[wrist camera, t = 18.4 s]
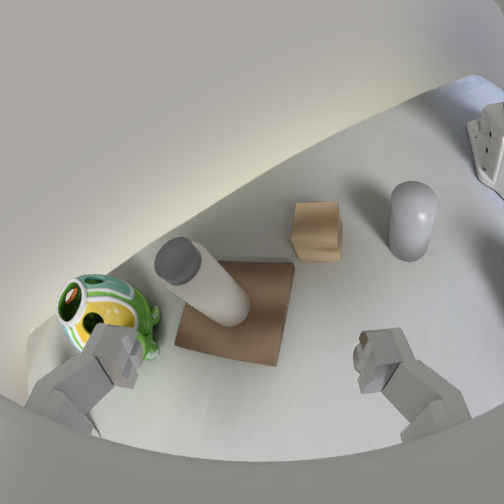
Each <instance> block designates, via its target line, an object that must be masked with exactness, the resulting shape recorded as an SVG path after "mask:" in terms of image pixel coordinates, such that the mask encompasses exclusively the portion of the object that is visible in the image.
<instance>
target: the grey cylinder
mask: <svg viewBox="0 0 504 504" xmlns="http://www.w3.org/2000/svg"><path fill="white" fill-rule="evenodd" d="M438 206H439V202H438V198H437V195H436V194H435V192H434V191H433V190H432V189H431V188H430V187H429V186H427V185H425V184H423V183H420V182H416V181H407V182H403V183H401V184H399V185H398V186H397V187H396V188H395V189H394V190H393V192H392V198H391V217H390V231H389V248H390V250H391V252H392V253H393V255H394V256H396V257H397V258H398V259H400V260H403V261H407V262H412V261H416V260H418V259H420V258H421V257H422V256H423V255H424V254H425V252H426V249H427V246H428V243H429V239H430V236H431V233H432V229H433V226H434V222H435V218H436V214H437V210H438Z"/></svg>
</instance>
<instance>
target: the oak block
mask: <svg viewBox="0 0 504 504" xmlns="http://www.w3.org/2000/svg"><path fill="white" fill-rule="evenodd" d="M290 240H291V242H292V244H293V246H294V248H295V251H296V253H297V255H298V257H299V260H300V261H341V246H342V222H341V216H340V210H339V205H338V202H314V203H296V206H295V212H294V219H293V226H292V232H291V239H290Z"/></svg>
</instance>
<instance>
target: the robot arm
mask: <svg viewBox="0 0 504 504" xmlns="http://www.w3.org/2000/svg"><path fill="white" fill-rule="evenodd" d="M494 1H495V2H496V4H497V5H498V7H499V8H500V10H501V11H502V13H503V15H504V0H494ZM467 131H468V134H469V138H470V142H471V146H472V151H473V155H474V160H475V165H476V170H477V176H478V178H479V180H480V181H481V182H482V183H484V184H486V185H487V186H489V187H491V188H492V189H494V190H495V191H497V192H498V193H499V194H500V195H501V196H502V198H503V199H504V102H502V103H496V104H489V105H486V106H485V107H484V108H483V109H482V112H481V116H480V119H476V120H471V121H469V122H468V123H467ZM137 335H138V334H137V332H136V330H135V328H132V327H125V326H118V325H112V324H105V323H98V324H97V325H96V326H95V328H94V330H93V331H92V333H91V335H90V337H89V339H88V341H87V343H86V345H85V346H84V348H83V350H82V352H81V354H80V353H77V354H76V355H74V356H73V357H71V358H70V359H69V360H67V361H66V362H64V363H63V364H61V365H60V366H58V367H57V368H56V369H54V370H53V371H51V372H50V373H48V374H47V375H45V376H44V377H43V378H41V379H40V380H38V381H37V382H36V384H35V386H34V388H33V390H32V392H31V394H30V396H29V398H28V401H27V403H26V405H25V407H23V406H21V405H19V404H17V403H15V402H13V401H11V400H10V399H8V398H6V397H4V396H2V395H1V394H0V504H504V403H503V404H501V405H499V406H497V407H495V408H493V409H491V410H489V411H487V412H485V413H483V414H481V415H479V416H477V417H474V418H472V419H471V416H470V413H469V411H468V408H467V406H466V403H465V401H464V398H463V396H462V394H461V391H459V390H458V389H457V388H455V387H454V386H453V385H451V384H450V383H449V382H448V381H446V380H445V379H444V378H442V377H441V376H440V375H438V374H437V373H436V372H434V371H433V370H432V369H431V368H429V367H428V366H427V365H425V364H424V363H423V362H421V361H420V360H415V357H414V355H413V353H412V351H411V348H410V346H409V344H408V342H407V340H406V338H405V335H404V333H403V331H402V329H401V328H390V329H379V330H369V331H363V332H362V333H361V334H360V337H359V340H360V343H359V344H358V345H357V346H356V347H355V350H354V355H353V362H354V368H355V370H356V371H357V372H358V373H359V374H360V376H359V378H358V383H359V387H360V391H361V394H366V393H374V392H382V394H383V395H384V396H385V397H386V398H387V399H388V400H389V401H390V402H391V403H392V404H393V405H394V406H395V407H396V408H397V410H398V411H399V412H400V413H401V414H402V415H403V416H404V417H405V418H406V419H407V420H408V421H409V422H410V424H409V425H408V426H407V427H406V428H405V429H404V430H403V431H402V432H401V434H400V435H401V439H402V443H401V444H397V445H394V446H390V447H385V448H381V449H377V450H372V451H367V452H362V453H356V454H350V455H344V456H337V457H330V458H321V459H311V460H298V461H277V462H245V461H224V460H211V459H201V458H193V457H185V456H178V455H172V454H166V453H160V452H155V451H150V450H145V449H141V448H136V447H132V446H128V445H124V444H120V443H117V442H113V441H110V440H106V439H103V438H100V437H96V436H93V435H91V433H92V429H93V424H92V422H90V421H89V420H88V419H87V418H86V416H85V415H86V414H87V413H88V412H89V411H90V410H91V409H92V408H93V407H94V406H95V405H96V404H97V403H98V402H99V401H100V400H101V399H102V398H103V397H104V396H105V395H106V394H107V393H108V392H109V391H110V390H111V389H112V388H113V387H114V386H119V387H124V388H131V389H133V388H134V385H135V382H136V379H137V376H138V374H137V372H136V369H137V368H139V367H140V366H141V364H142V361H143V346H142V344H141V342H140V341H139V340H137V339H136V337H137Z"/></svg>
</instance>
